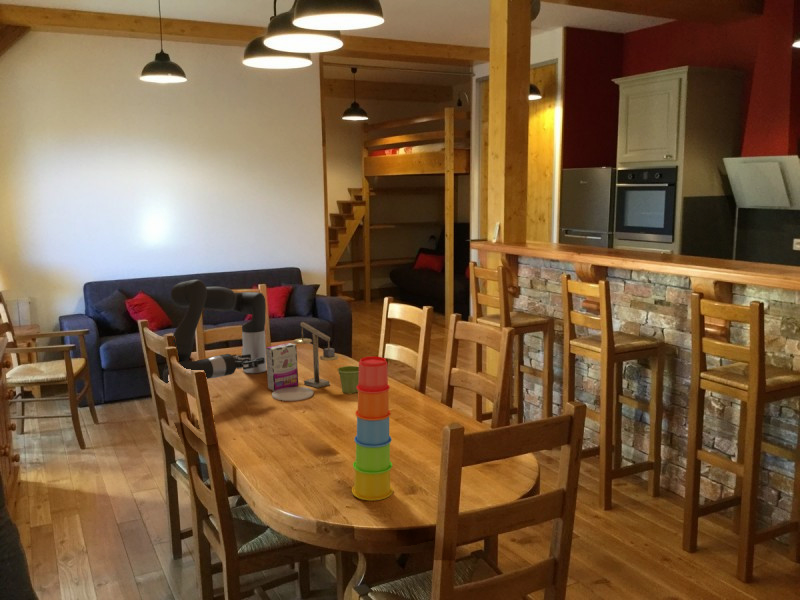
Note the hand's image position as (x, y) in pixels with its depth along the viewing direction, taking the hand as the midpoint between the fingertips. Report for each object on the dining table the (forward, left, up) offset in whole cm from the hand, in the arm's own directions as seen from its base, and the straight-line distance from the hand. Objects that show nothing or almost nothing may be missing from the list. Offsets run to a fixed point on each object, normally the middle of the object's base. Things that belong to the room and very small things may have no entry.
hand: (257, 358), depth 266 cm
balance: (+7, +22, -14) cm, 27 cm away
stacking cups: (+94, -34, -14) cm, 101 cm away
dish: (+11, +7, -14) cm, 19 cm away
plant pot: (+24, +24, -14) cm, 37 cm away
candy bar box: (0, +11, -14) cm, 18 cm away
